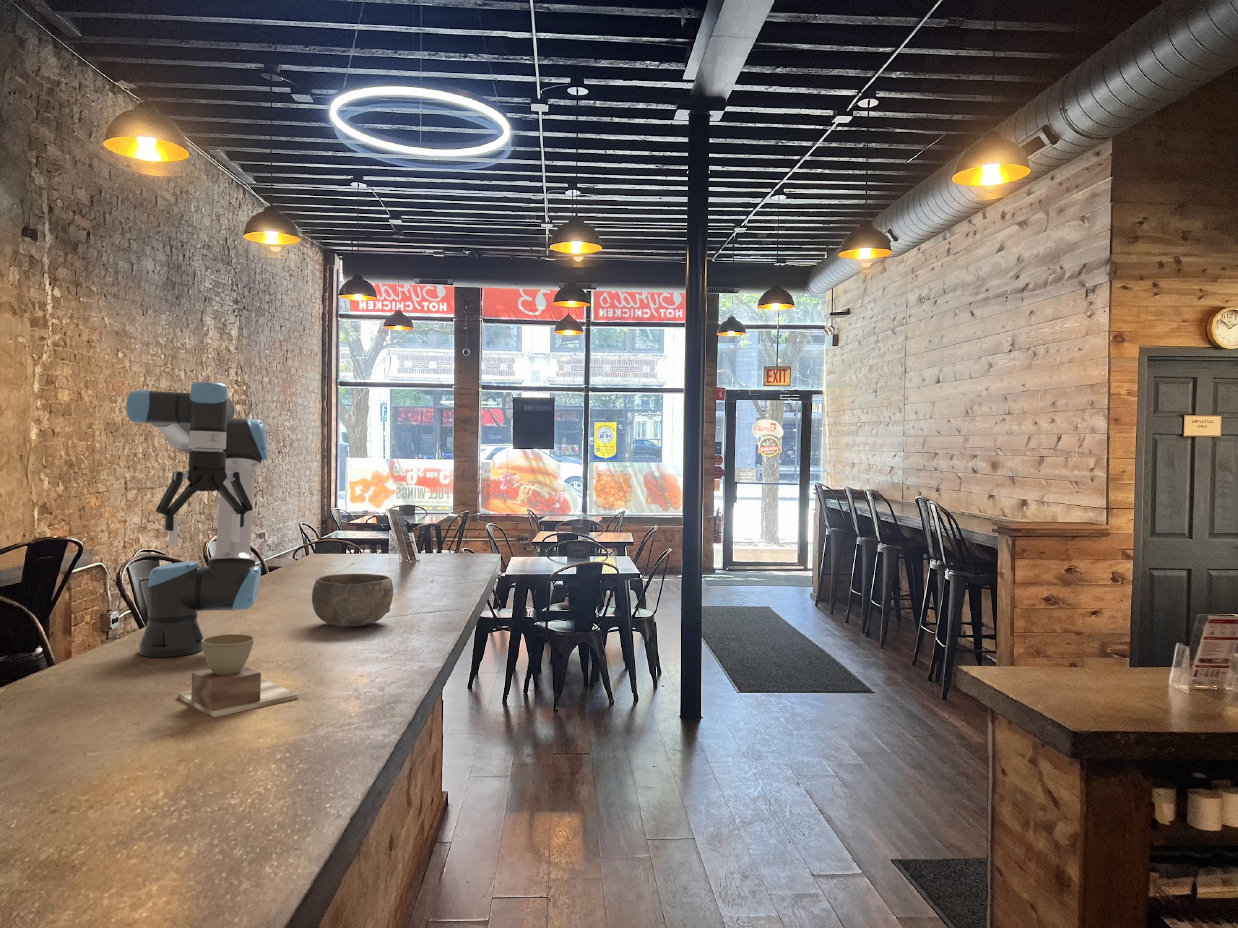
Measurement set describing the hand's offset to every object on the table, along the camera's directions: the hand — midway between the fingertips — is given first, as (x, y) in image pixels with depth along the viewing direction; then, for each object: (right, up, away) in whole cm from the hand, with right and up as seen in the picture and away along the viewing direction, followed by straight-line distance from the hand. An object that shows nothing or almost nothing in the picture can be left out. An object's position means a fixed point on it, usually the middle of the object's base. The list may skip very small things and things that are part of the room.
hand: (205, 543), depth 183 cm
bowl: (+11, -33, +68) cm, 76 cm away
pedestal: (+11, -32, -12) cm, 36 cm away
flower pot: (+11, -26, -12) cm, 31 cm away
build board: (+11, -33, -7) cm, 36 cm away
